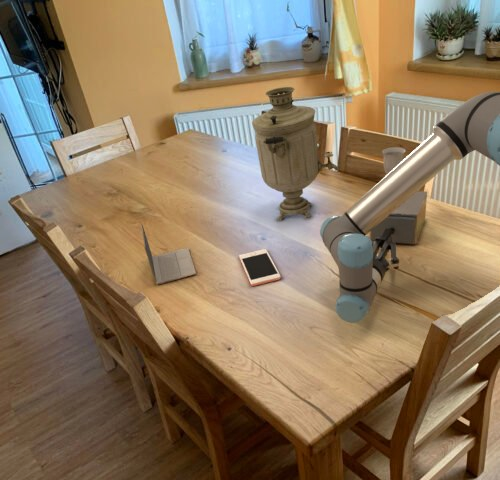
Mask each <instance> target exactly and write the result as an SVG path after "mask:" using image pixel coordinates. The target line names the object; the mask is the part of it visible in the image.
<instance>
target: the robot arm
mask: <svg viewBox="0 0 500 480" xmlns="http://www.w3.org/2000/svg"><path fill="white" fill-rule="evenodd" d="M475 151H476V152H478V153H480V154H481V155H482V156H484V157H486V158H488V159H489V160H491V161H493V162H494V163H495V164H497V166H499V167H500V91H495V90H494V91H487V92H483V93H480V94H477V95H475V96H473V97H471V98H469V99H468V100H466V101H464V102H462V104H459V105H458V106H457V107H456V108H454V109H452V110H451V111H450V112H449V113H448V114H447V115H445V116H444V117H443V118H442V119H440V121H438V122H437V123H436V124H435V125H434V126H433V127H432V133H431V134H430V136H428V137H427V138H426V139H425V140H424V141H423V142H421V144H420V145H419V146H417V147H416V148H415V149H414V150H413V151H412V152H410V154H408V155H407V156H406V157H405V158H403V161H402V162H401V163H400V164H399V165H397V166H396V167H395V168H394V169H393V170H392V171H391V172H390V173H389V174H387V175H385V176H384V177H383V178H382V179H381V180H379V182H378V183H376V184H375V185H374V186H373V187H371V189H369V190H368V191H367V192H366V193H365V194H364V195H363V196H361V197H360V198H359V199H358V200H357V201H356V202H355V203H354V204H352V206H351V207H349V208H348V209H347V210H346V211H345V212H344V213H343V214H341V215H337V214H336V215H332V216H330V217H327V218H326V219H325V220H324V221H323V222H322V224H321V226H320V229H319V232H320V233H319V234H320V237H321V239H322V243H323V245H324V246H325V248H326V249H327V250H328V252H329V253H330V255H331V258H332V259H333V261H334V262H335V264H336V266H337V269H338V279H339V282H338V283H339V296H338V297H337V299H336V303H335V308H334V309H335V313H336V315H337V317H338V318H340V319H341V320H342V321H343V322H346V323H350V324H357V323H358V324H359V323H360V322H362V321H363V320H365V318H366V317H367V315H368V314H369V312H370V311H371V307H372V304H373V302H374V300H375V297H376V295H377V293H378V290H379V288H380V286H381V284H382V281H383V279H384V277H385V275H386V273H387V272H388V271H389V270H390V269H394V270H399V268H400V259H399V257H397V243H395V242H392V237H391V229H387V228H386V229H385V231H384V233H383V235H382V236H379V237H378V238H375V241H371V239H370V236H367V235H368V234H370V231H371V230H372V229H373V228H375V227H376V226H377V225H378V224H379V223H381V222H382V221H383V220H384V219H385V218H386V217H388V216H389V215H390V214H391V213H392V212H393V211H395V210H396V209H397V208H398V207H399V206H400V205H402V204H403V203H404V202H405V201H406V200H407V199H409V198H410V197H411V196H412V195H413V194H414V193H416V192H417V191H420V189H422V188H423V187H424V186H425V185H426V184H427V183H429V182H430V181H431V180H432V179H434V178H435V177H436V176H437V175H438V174H439V173H440V172H442V170H444V169H445V168H446V167H447V166H448V165H450V164H451V163H452V162H453V161H461V160H463V159H464V158H465V157H466V156H467V155H468V154H470V153H472V152H475ZM388 253H390V260H389V262H388V260H387V259H386V258H387V255H388Z"/></svg>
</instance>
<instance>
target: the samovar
mask: <svg viewBox="0 0 500 480" xmlns="http://www.w3.org/2000/svg"><path fill="white" fill-rule="evenodd" d="M295 89H296V88H295V87H292V86H282V87H277V88H274V89H270V90H267V91H266V92H265V96H267V97H268V98H269V103H270V105H271V106H272V108H270V109H269V110H268V111H265V112H263V113H261V114H260V115H258V116H256V117H255V118H254V119H253V120H252V121H251V125H252V127H253V130H254V132H255V137H254V138H255V146H256V151H257V156H258V163H259V167H260V174H261V178H262V180H263V182H264V184H265V185H267V187H269V188H271V189H273V190H275V191H277V192H280V193H282V197H283V198H285V199H283V200H282V201H281V202H280V204H279V207H278V211H279V215H278V216H277V218H276V219H277V221H280V222H281V221H283V219H284V218H285V217H286V216H297V215H303V216H304V217H305V219H311V218H312V216H311V215H310V213H309V209H311V208H310V206H313V203H312V202H311V201H309V200H308V199H307V198H305V197H303V194H304V190H303V189H306V188H307V187H309V186H310V185H311V184H312V183H313V182H314V181H315V180H316V179H317V177H318V174H319V173H320V172H322V171H323V169H324V168H325V169H326V168H327V169H328V170H329V171H330V170H332V169H334V170H335V171H339V170H340V168H339V166H337V165H336V164H335V163H333V162H332V161H331V157H334V153H333V151H326V152H323V153H322V155H323V158H327V163H323V164H322V161H321V160H320V156H319V146H318V145H319V144H318V136H317V135H318V134H317V126H316V125H315V123H314V121H315V116H316V115H315V114H316V109H315V108H313V107H311V106H306V105H295V104H293V103H294V101H295V100H294V99H293V93H294V91H295Z"/></svg>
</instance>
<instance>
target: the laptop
mask: <svg viewBox="0 0 500 480" xmlns="http://www.w3.org/2000/svg"><path fill="white" fill-rule="evenodd" d="M140 226H141V233H142V240H143V246H144V247H143V248H144V251H145V254H146V257H147V260H148V264H149V265H150V266H149V267H150V270H151V272H152V276H153V279H154V282H155V284H156V285H161V284H165V283H169V282H172V281H176V280H180V279H184V278H186V277H190V276H194V275H196V274H197V273H196V269H195V266H194V262H193V259H192V256H191V253H190V252H191V251H190V249H189V247H184V248H181V249H180V248H179V249H176V250H172V251H168V252H164V253H160V254H157V255H152V251H151V247H150V245H149V242H148V238H147V234H146V232H145V229H144V225H143V223H142V222H140Z"/></svg>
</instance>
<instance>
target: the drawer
mask: <svg viewBox="0 0 500 480" xmlns="http://www.w3.org/2000/svg"><path fill="white" fill-rule="evenodd" d="M386 228H387V229H391V237H392V242H397V243H396V244H401V243H410V244H409V245H414V244H413V243H414V232H415V217H407V216H388V217H386V218H385V219H384V220H383V221H382V222H381V223H379V224H378V225H377V226H376V227H375V228H373V229H372V230H371V241H373V242H375V238H378V237H379V236H382V235H383V233H384V231H385V229H386Z"/></svg>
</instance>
